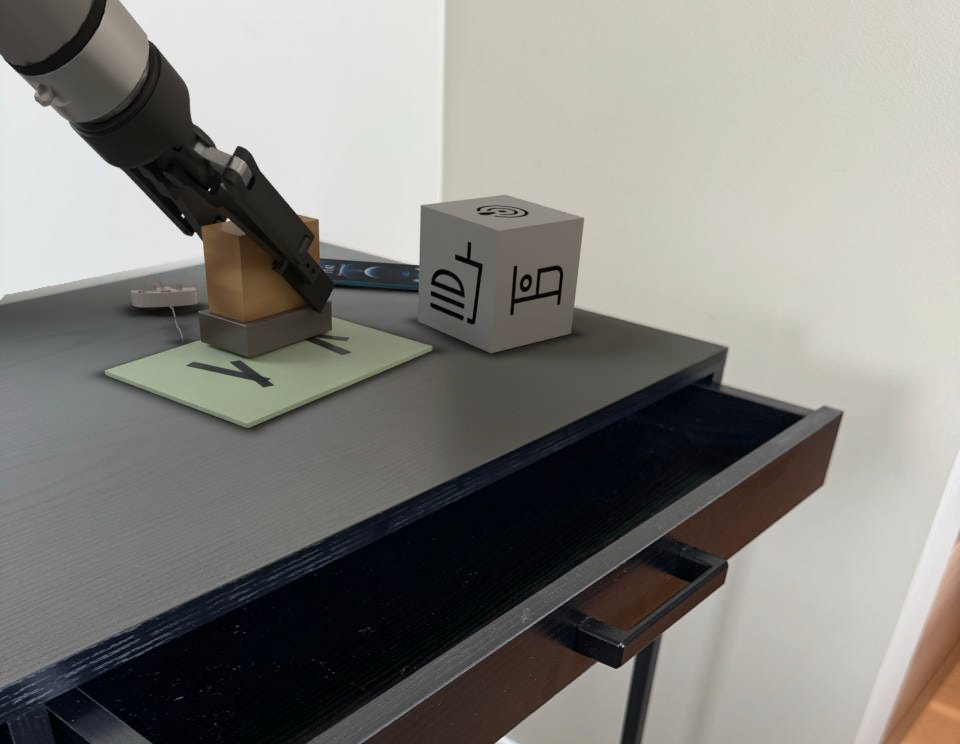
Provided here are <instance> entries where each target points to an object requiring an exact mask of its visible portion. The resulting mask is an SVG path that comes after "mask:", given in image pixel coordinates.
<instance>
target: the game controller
mask: <svg viewBox="0 0 960 744" xmlns="http://www.w3.org/2000/svg"><path fill="white" fill-rule="evenodd" d="M159 285H160V287H157V283H155V282H153V283H151V287H152V290H147V289H135V290H130V298H131V305H132V306H133V307H137V308H164V307H165V308H167V307H168V308H169V309H171V310H172V314H173V318H174V323H175V326H176V329H177V330H178V331H179V334H180V338H181V343H182V344H183V343H184V337H183V333H182V330H181V328H180V327H179V326H178V322H177V318H176V317H177V316H176V313H175V309H174V307H180V306H181V307H182V306H191V305H197V304H199V301H198V293H197V288H196V287H183V286H182V285H183V284H182V283H181V282H178V283H177V288H178V289H175V288H172V287H168V286H165V282H164V281H163V280H160V282H159ZM182 287H183V288H182Z"/></svg>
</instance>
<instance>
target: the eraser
mask: <svg viewBox="0 0 960 744" xmlns="http://www.w3.org/2000/svg"><path fill="white" fill-rule="evenodd" d="M296 214H297V215H298V216H299V217H300V219H301V220H302V221H303V222H304V223H305V224H306V226H307V227H308V228H309V229H310V230H311V232H312V233H313V234H314V235H315V238H314V240H313V242H312V244H311V246H310V247H309V249H308V251H307V252H308V253H309V254H310V255H311V257H312V258H313V259H314V260H315V261H316V263H317V264H318V265H319V266H320V258H321V252H320V250H321V248H320V219H319V218H315V217H311V216H306V215H302V214H299V213H296ZM201 228H202V239H203V241H202V248H203V250H202V251H203V259H204V271H205V282H206V283H205V284H206V293H207V303H208V308H206V309H202V310H199V311H198V312H197V314H198V316H197V317H198V324H199V335H200V340H201V342H203V343H206V344H209V345H212V346H215V347H219V348H222V349H225V350H228V351H231V352H234V353H237V354H240V355H243V356H246V357H249V358H250V357H253V356H256V355H259V354H262V353H265V352H268V351H271V350H274V349H277V348H280V347H283V346H286V345H289V344H292V343H295V342H298V341H301V340H304V339H307V338H310V337H313V336H316V335H319V334H322V333H325V332H328V331H331V330H332V317H333V311H332V310H333V309H332V305H333V304H332V300H329V299H328V301H327V302H326V304H325V306H324V308H323V310H322V312H321V313H319V312H315V311H314V310H313V309H312V308H311V307H310V306H309V305H308V304H307V303H306V302H305V300H304V299H303V298H302V297H301V296H300V295H299V294H298V293H297V292H296V291H295V289H294V288H293V287H292V286H291V285H290V284H289V283H288V282H287V281H286V280H285V278H284V277H283V276H282V275H281V274H279V273H277V272H275V271H273V270H272V267H273V265H272V263H273V261H274V258H272V257H271V256H270V255H269V254H268V253H267V252H266V251H264V250H263V249H262V248H261V247H260V246H259V245H258V244H257V243H255V242H254V241H253V240H252V239H251V238H250V237H249V236H247V235H246V234H245V233H244V232H243V231H242V230H241V229H239V228H238V227H237V226H236V225H235V224H234V223H233V222H232V221H230V220H226V222H222V223H217V224H211V225H206V226H202V227H201Z"/></svg>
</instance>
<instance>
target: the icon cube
mask: <svg viewBox="0 0 960 744" xmlns="http://www.w3.org/2000/svg"><path fill="white" fill-rule="evenodd" d="M419 217H420V220H419V221H420V222H419V258H418V259H419V263H418V265H419V290H418V302H417V303H418V306H417V307H418V308H417V309H418V310H417V322H419V323H421V324H423V325H425V326H427V327H429V328H432V329H434V330H435V331H439V332H441V333H444V334H445V335H448V336H450V337H453V338H455V339H457V340H459V341H461V342H464V343H466V344H468V345H470V346H473V347H475V348H478V349H480V350H482V351H485V352H486V353H488V354H493V353H498V352H502V351H506V350H510V349H513V348H518V347H522V346H526V345H531V344H535V343H539V342H542V341H547V340H550V339H555V338H558V337H563V336H566V335H570V334H572V329H573V327H572V326H573V320H574V313H575V312H574V310H575V303H576V302H575V301H576V295H577V294H576V293H577V287H578V286H577V285H578V278H579V277H578V276H579V268H580V260H581V259H580V258H581V251H582V244H583V243H582V242H583V234H584V224H585V217H583V216H580V215H577V214H573V213H569V212H566V211H562V210H559V209H556V208H552V207H549V206H545V205H542V204H539V203H535V202H533V201H532V202H531V201H528V200H525V199H522V198H517V197H514V196H511V195H508V194H501V195H493V196H492V195H491V196H485V197H484V196H483V197H476V198H466V199H459V200H451V201H444V202H435V203H428V204H427V203H426V204H420V216H419Z"/></svg>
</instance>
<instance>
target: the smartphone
mask: <svg viewBox="0 0 960 744" xmlns="http://www.w3.org/2000/svg"><path fill="white" fill-rule="evenodd" d="M320 267H321V268H322V270H323V271H324V272H325V273H326V274H327V276H328V277H329V278H330V279H331V280H332V282H333V283H334V284H335V285H339V286H353V287H354V286H355V287H368V288H382V289H397V290H410V291H419V264H409V263H408V264H407V263H395V262H380V261H366V260H351V259H339V258H337V259H336V258H323V257H320Z"/></svg>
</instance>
